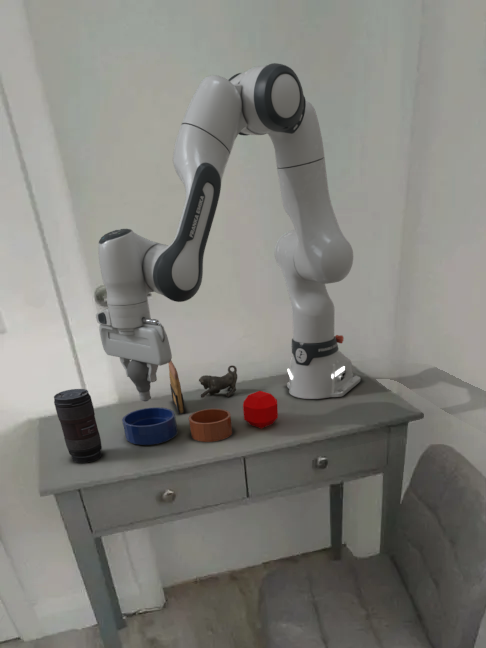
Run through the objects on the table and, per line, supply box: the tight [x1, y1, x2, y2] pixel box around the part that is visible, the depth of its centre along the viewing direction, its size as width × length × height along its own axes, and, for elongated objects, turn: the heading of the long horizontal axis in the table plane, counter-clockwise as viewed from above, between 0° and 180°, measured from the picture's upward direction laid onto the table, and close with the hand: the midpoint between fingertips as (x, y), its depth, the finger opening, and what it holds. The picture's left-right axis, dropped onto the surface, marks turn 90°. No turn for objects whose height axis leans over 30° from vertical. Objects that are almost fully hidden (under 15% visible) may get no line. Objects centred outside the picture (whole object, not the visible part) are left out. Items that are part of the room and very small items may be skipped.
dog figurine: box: [198, 365, 238, 399], centre depth 171 cm, size 12×6×7 cm, turn 114°
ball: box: [242, 390, 279, 430], centre depth 151 cm, size 8×8×8 cm
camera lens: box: [53, 388, 103, 464], centre depth 139 cm, size 8×8×15 cm
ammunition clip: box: [168, 360, 186, 415], centre depth 163 cm, size 11×2×12 cm, turn 16°
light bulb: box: [127, 360, 152, 402], centre depth 143 cm, size 6×6×10 cm
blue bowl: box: [121, 406, 179, 446], centre depth 150 cm, size 13×13×5 cm
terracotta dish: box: [188, 408, 233, 443], centre depth 149 cm, size 10×10×4 cm
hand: (141, 379), depth 143 cm, fingers closed on light bulb, 6 cm apart
